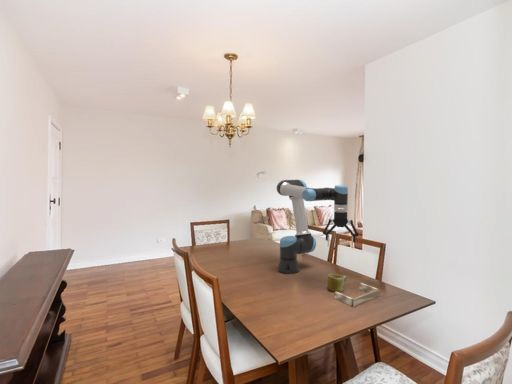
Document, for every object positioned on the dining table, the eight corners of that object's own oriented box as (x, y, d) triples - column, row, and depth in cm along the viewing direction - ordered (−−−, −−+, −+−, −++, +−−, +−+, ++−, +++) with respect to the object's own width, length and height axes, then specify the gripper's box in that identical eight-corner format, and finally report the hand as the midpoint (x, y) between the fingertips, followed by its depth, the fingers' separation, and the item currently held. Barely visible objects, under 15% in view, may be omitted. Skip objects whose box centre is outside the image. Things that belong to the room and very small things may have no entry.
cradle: (334, 298, 149) (334, 291, 149) (360, 288, 161) (360, 282, 161) (353, 306, 139) (353, 300, 139) (380, 295, 151) (380, 289, 151)
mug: (332, 291, 153) (332, 273, 156) (323, 290, 162) (324, 272, 165) (352, 293, 155) (352, 275, 158) (342, 292, 165) (342, 275, 168)
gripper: (318, 211, 164) (318, 246, 166) (363, 213, 157) (362, 250, 159) (319, 209, 172) (319, 243, 173) (362, 211, 164) (362, 246, 166)
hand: (340, 246), depth 166 cm, fingers open, 13 cm apart
